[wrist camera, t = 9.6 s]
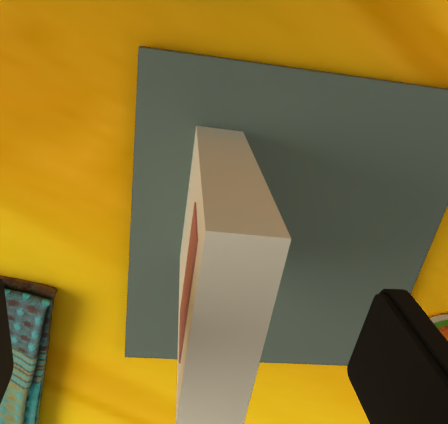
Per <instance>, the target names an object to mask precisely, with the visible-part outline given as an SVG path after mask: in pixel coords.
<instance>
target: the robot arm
mask: <svg viewBox="0 0 448 424" xmlns="http://www.w3.org/2000/svg"><path fill="white" fill-rule="evenodd" d="M13 366H14V361H13V353H12V345H11V337H10V329H9V321H8V313H7V305H6V297H5V289H4V283H3V280H1V279H0V404H1V402H2V399H3V397H4V394H5V392H6V389H7V387H8V384H9V382H10V379H11V377H12V373H13ZM347 370H348V376H349V379H350V381H351V383H352V386H353V388H354V390H355V392H356V394H357V396H358V398H359V401H360V403H361V405H362V407H363V409H364V411H365V413H366V416H367V418H368V420H369V422H370V424H448V341H447V340H446V338H445V337H444V336H443V335H442V333H441V332H440V331H439V330H438V328H437V327H436V326H435V325H434V323H433V322H432V321H431V320H430V318H429V317H428V316H427V315H426V313H425V312H424V311H423V310H422V308H421V307H420V306H419V305H418V303H417V302H416V301H415V300H414V298H413V297H412V296H411V295H410V293H409V292H408V291H407V290H404V289H383V290H381V291H380V293H379V294H376V295H375V296H374V298H373V301H372V303H371V306H370V309H369V311H368V314H367V316H366V319H365V321H364V324H363V327H362V329H361V332H360V334H359V337H358V340H357V342H356V345H355V347H354V350H353V352H352V355H351V358H350V360H349V363H348V368H347Z"/></svg>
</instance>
